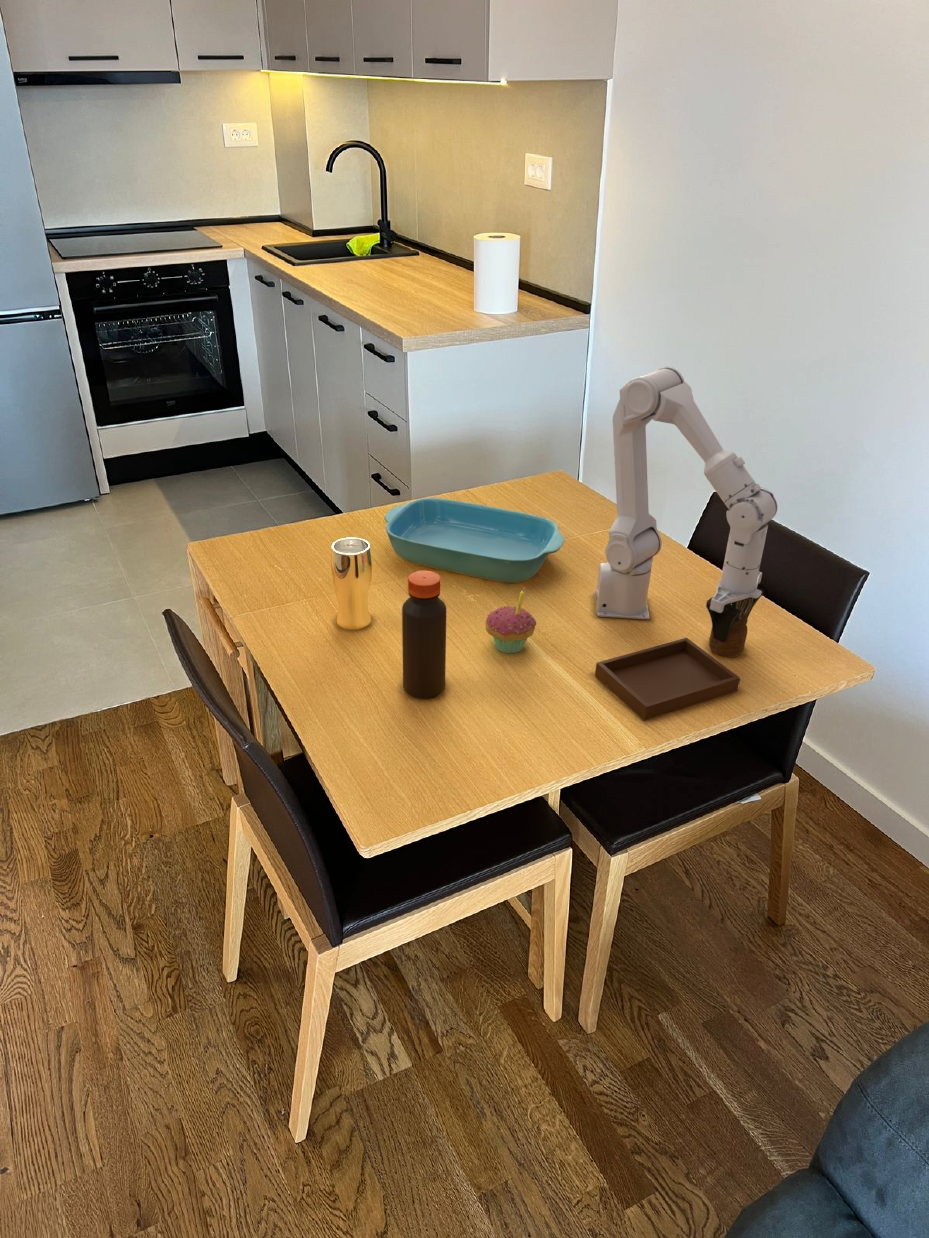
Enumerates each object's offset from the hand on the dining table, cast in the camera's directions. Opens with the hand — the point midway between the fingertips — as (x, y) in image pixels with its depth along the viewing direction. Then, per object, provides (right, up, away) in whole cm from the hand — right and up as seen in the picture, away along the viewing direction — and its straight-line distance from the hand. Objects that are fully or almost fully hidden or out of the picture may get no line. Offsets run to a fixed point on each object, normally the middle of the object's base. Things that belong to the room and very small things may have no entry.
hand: (728, 632), depth 161 cm
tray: (-12, -8, -8) cm, 17 cm away
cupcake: (-38, -3, +1) cm, 38 cm away
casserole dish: (-44, +15, +30) cm, 55 cm away
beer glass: (-65, +2, +7) cm, 65 cm away
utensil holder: (0, -3, +2) cm, 4 cm away
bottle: (-52, -9, -10) cm, 54 cm away
